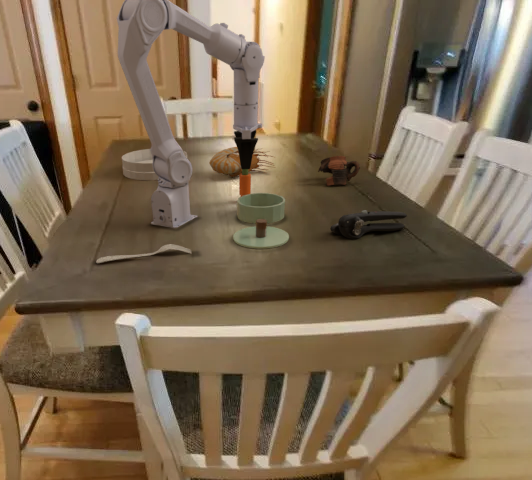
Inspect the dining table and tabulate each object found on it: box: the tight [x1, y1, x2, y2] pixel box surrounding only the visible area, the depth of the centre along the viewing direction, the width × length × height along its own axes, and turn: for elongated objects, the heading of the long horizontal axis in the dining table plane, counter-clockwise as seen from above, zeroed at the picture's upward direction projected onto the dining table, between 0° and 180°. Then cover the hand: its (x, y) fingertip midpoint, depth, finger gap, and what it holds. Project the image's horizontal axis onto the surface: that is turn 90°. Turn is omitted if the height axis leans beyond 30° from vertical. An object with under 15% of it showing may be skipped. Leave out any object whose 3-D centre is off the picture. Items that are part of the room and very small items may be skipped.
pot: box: [236, 192, 286, 225], centre depth 114 cm, size 12×12×4 cm
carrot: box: [238, 169, 252, 197], centre depth 122 cm, size 3×3×9 cm
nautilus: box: [208, 146, 277, 178], centre depth 146 cm, size 8×22×15 cm
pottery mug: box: [317, 155, 361, 187], centre depth 137 cm, size 12×10×8 cm
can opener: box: [329, 209, 408, 240], centre depth 102 cm, size 18×7×6 cm, turn 106°
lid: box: [232, 219, 290, 250], centre depth 102 cm, size 12×12×4 cm
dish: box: [121, 148, 188, 181], centre depth 155 cm, size 22×22×5 cm
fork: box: [96, 243, 192, 264], centre depth 98 cm, size 3×21×3 cm, turn 98°
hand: (245, 165), depth 118 cm, fingers open, 7 cm apart
